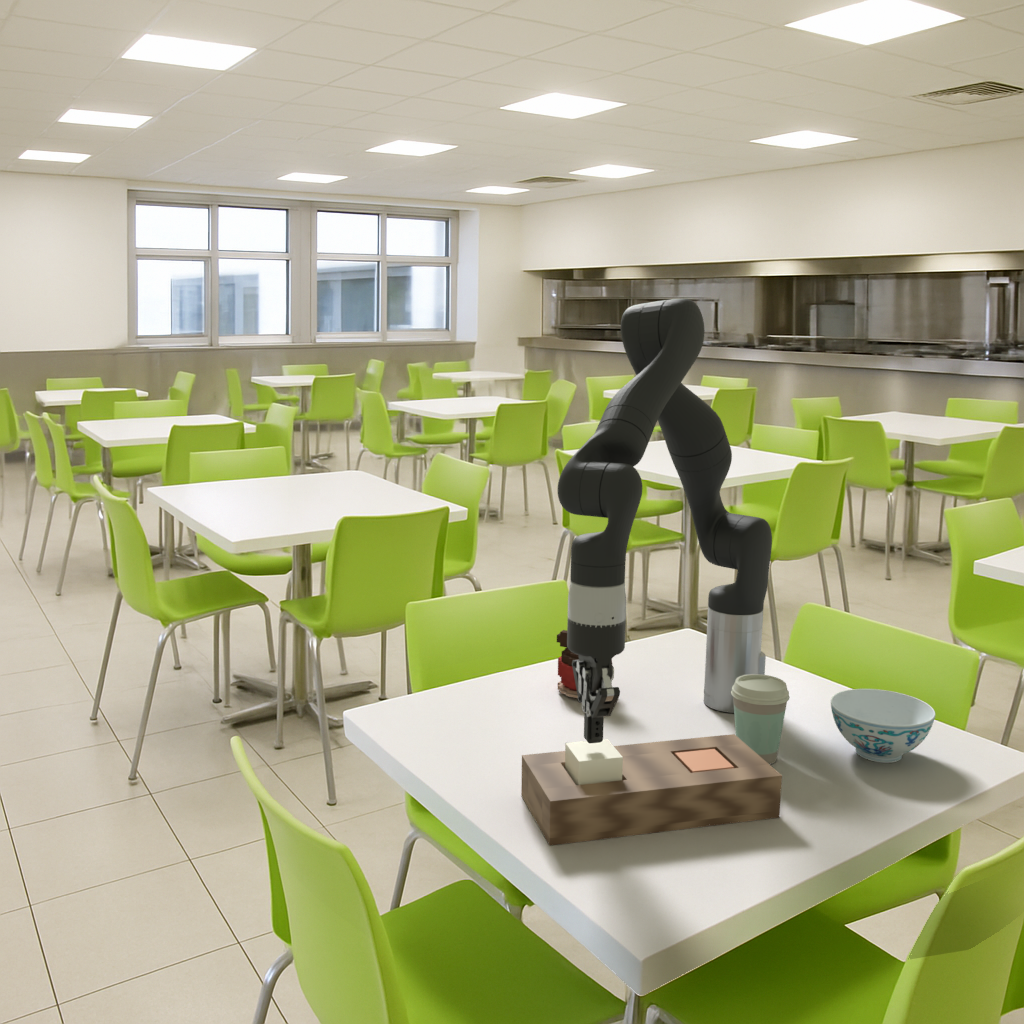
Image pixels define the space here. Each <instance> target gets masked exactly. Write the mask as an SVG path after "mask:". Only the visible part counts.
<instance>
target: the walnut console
mask: <svg viewBox="0 0 1024 1024" xmlns="http://www.w3.org/2000/svg"><path fill="white" fill-rule="evenodd" d="M613 746H614V747H615V748H616V750H617V751H618V752H619V753H620V754H621V756H622V757H623V767H622V780H620V781H611V782H602V783H593V784H583V785H576V784H575V783H574V782H573V780H572V779H571V777H570V776H569V774H568V773H567V771H566V770H565V750H561V751H559V750H558V751H551V752H540V753H532V754H522V755H521V797H522V799H523V802H525V805H526V806H527V808H528V810H529V812H530V814H531V815H532V817H533V819H534V821H535V822H536V824H537V825H538V828H539V830H540V831H541V833H542V835H543V837H544V836H545V837H544V838H545V840H546V842H547V844H548V846H549V845H550V846H556V845H557V846H559V845H565V844H574V843H581V842H588V841H589V842H590V841H598V840H604V839H605V840H607V839H614V838H621V837H622V838H623V837H630V836H631V837H632V836H638V835H639V836H640V835H646V834H656V833H663V832H670V831H680V830H689V829H696V828H705V827H711V826H720V825H721V826H722V825H729V824H736V823H745V822H752V821H761V820H769V819H770V818H771V819H777V818H780V817H781V816H780V812H781V803H782V802H781V801H782V799H781V797H782V782H783V775H782V774H781V773H780V772H778V770H776V768H774V767H773V766H772V764H770V765H769V764H768V763H767V762H766V761H765V760H764V759H762V758H761V757H760V756H759V755H758V754H757V753H756V752H754V751H753V750H752V749H751V748H750V747H749V746H747V745H746V744H745V743H744V742H743V741H742V740H740V739H739V738H738V737H737V736H736V733H731V734H722V735H714V736H713V735H711V736H710V735H709V736H701V737H694V738H693V737H690V738H680V739H672V740H661V741H650V742H642V743H631V744H630V743H629V744H621V745H620V744H619V745H613ZM708 749H715V750H716V751H717V752H718V753H720V754H721V755H722V756H723V757H724V758H725V759H726V760H727V761H728V762H729V763H730V764H731V765H732V766H733V767H734V768H731V769H722V770H713V771H704V772H694V773H690V772H689V770H688V769H687V768H686V767H685V766H684V765H683V764H682V763H681V762H680V761H679V760H678V759H677V758H676V757H675V753H679V752H689V751H698V750H708Z"/></svg>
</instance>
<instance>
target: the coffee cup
mask: <svg viewBox="0 0 1024 1024" xmlns="http://www.w3.org/2000/svg"><path fill="white" fill-rule="evenodd" d="M787 686H788V685H787V683H786V681H784V680H783V679H781V678H778V677H777V676H776V677H775V676H773V675H768V674H765V675H761V674H748V675H742V676H740V677H738V678H737V679H736V680H735V683H734V685H733V687H732V691H731V694H732V695H733V700H734V713H733V714H734V727H735V728H734V730H735V735H736V736H737V737H738V738H739V739H740V740H742V741H743V742H744V743H745V744H746V745H747V746H749V747H750V748H751V749H752V750H753V751H754V752H756V753H757V754H758V755H759V756H760V757H761V758H762V759H764V760H765V761H766V762H767V763H768V764H769V765H772V764H774V763H776V762H777V758H778V752H779V747H780V742H781V741H780V740H781V737H782V731H783V726H784V721H785V716H786V710H787V704H788V703H787V702H788V701H789V700H790V693H789V692H790V691H789V689H788V687H787Z"/></svg>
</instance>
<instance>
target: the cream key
mask: <svg viewBox="0 0 1024 1024" xmlns="http://www.w3.org/2000/svg"><path fill="white" fill-rule="evenodd" d="M564 745H565V747H564V751H565V770H566V771H567V773H568V774H569V776H570V777H571V779H572V780H573V782H574V783H575V784H576V785H583V784H593V783H602V782H611V781H620V780H622V767H623V757H622V756H621V754H620V753H619V752H618V751H617V750H616V748H615V747H614V746H615V745H613V744H612V743H611V741H610V740H609V739H608V738H603V740H602V742H600V743H588V742H587V741H586V740H584V741H574V742H565V743H564Z"/></svg>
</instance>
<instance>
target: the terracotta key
mask: <svg viewBox="0 0 1024 1024" xmlns="http://www.w3.org/2000/svg"><path fill="white" fill-rule="evenodd" d="M675 757H676V758H677V759H678V760H679V761H680V762H681V763H682V764H683V765H684V766H685V767H686V768H687V769H688V770H689V772H690V773H694V772H704V771H713V770H722V769H731V768H734V767H733V766H732V765H731V764H730V763H729V762H728V761H727V760H726V759H725V758H724V757H723V756H722V755H721V754H720V753H718V752H717V751H716V750H715V749H708V750H698V751H689V752H679V753H675Z"/></svg>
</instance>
